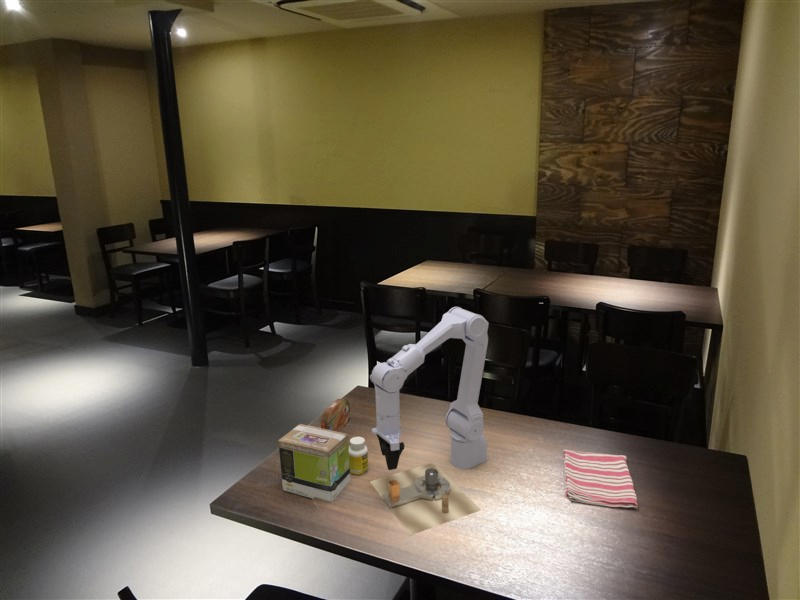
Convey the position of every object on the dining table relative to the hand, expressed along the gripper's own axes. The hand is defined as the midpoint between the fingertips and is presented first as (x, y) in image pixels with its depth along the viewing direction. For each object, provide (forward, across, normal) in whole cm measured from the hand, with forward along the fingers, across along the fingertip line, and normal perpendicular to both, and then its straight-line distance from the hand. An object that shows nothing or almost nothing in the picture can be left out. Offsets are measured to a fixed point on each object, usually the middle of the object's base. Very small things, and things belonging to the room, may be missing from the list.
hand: (389, 461), depth 138 cm
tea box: (+10, -8, -18) cm, 22 cm away
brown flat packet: (+10, -37, -9) cm, 39 cm away
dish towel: (+10, +8, +54) cm, 55 cm away
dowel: (+9, +11, +11) cm, 18 cm away
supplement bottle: (+10, -12, -6) cm, 16 cm away
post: (+9, +2, +10) cm, 14 cm away
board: (+9, +4, +8) cm, 13 cm away
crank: (+8, +3, +6) cm, 11 cm away
